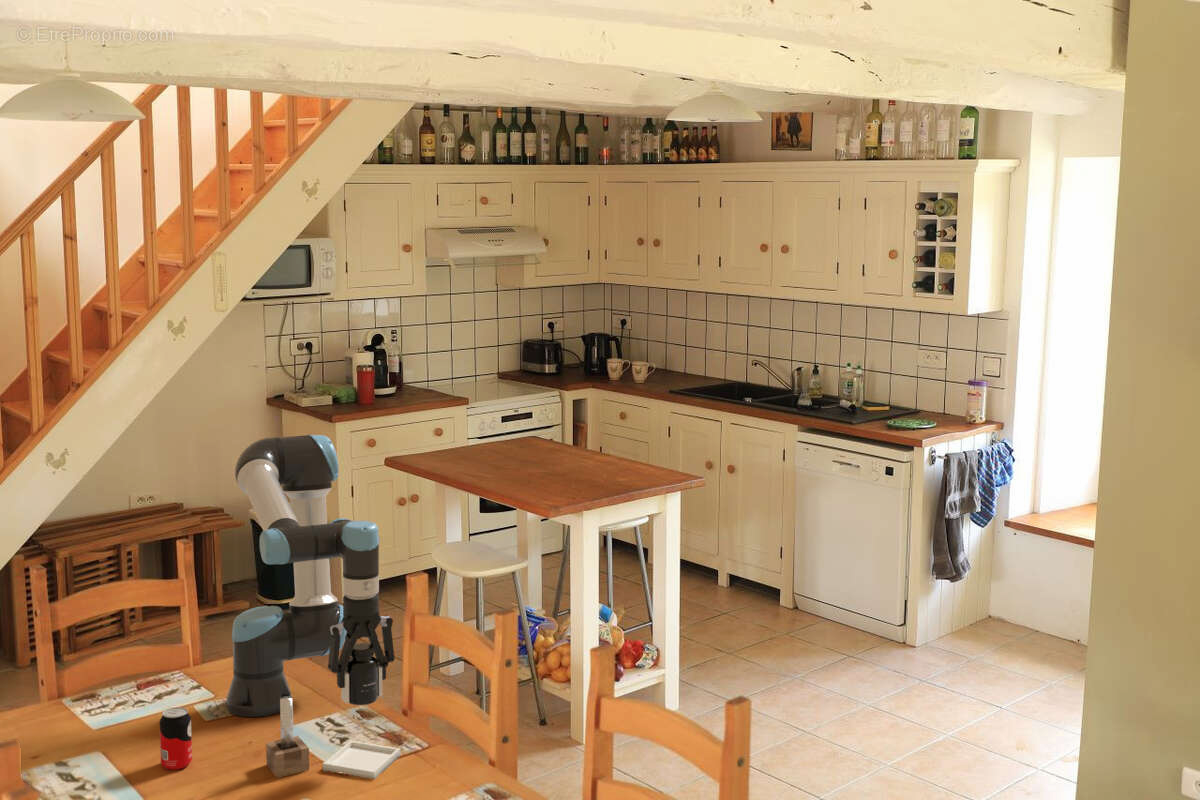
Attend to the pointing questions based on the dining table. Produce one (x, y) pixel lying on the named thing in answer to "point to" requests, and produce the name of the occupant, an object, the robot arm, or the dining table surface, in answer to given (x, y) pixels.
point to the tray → (362, 759)
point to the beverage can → (175, 738)
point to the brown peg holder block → (287, 757)
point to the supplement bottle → (363, 675)
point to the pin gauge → (286, 722)
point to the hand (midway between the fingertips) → (361, 697)
